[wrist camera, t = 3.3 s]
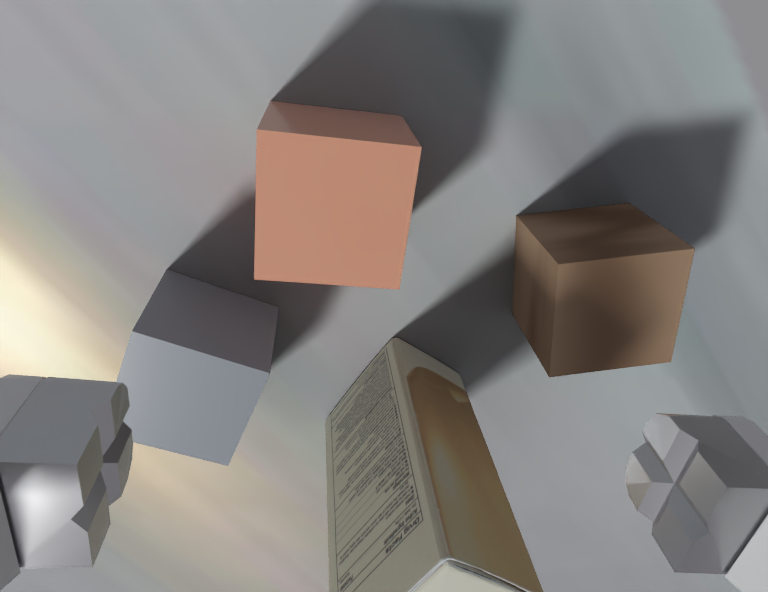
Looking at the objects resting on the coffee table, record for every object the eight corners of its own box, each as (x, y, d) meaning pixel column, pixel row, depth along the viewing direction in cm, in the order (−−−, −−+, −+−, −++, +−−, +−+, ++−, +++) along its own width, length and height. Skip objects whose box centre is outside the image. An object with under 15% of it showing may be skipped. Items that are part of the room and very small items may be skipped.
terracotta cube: (401, 115, 22) (421, 147, 17) (385, 234, 24) (399, 289, 19) (270, 100, 21) (257, 129, 16) (267, 225, 23) (254, 279, 19)
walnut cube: (628, 202, 24) (695, 248, 20) (614, 301, 27) (670, 361, 22) (515, 214, 24) (558, 264, 20) (511, 313, 26) (549, 377, 22)
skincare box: (390, 451, 30) (427, 707, 19) (321, 418, 28) (321, 678, 18) (466, 368, 28) (556, 606, 17) (396, 328, 26) (447, 562, 15)
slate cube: (279, 306, 25) (270, 373, 21) (243, 389, 27) (228, 465, 23) (167, 268, 24) (132, 331, 19) (138, 358, 26) (100, 433, 21)
